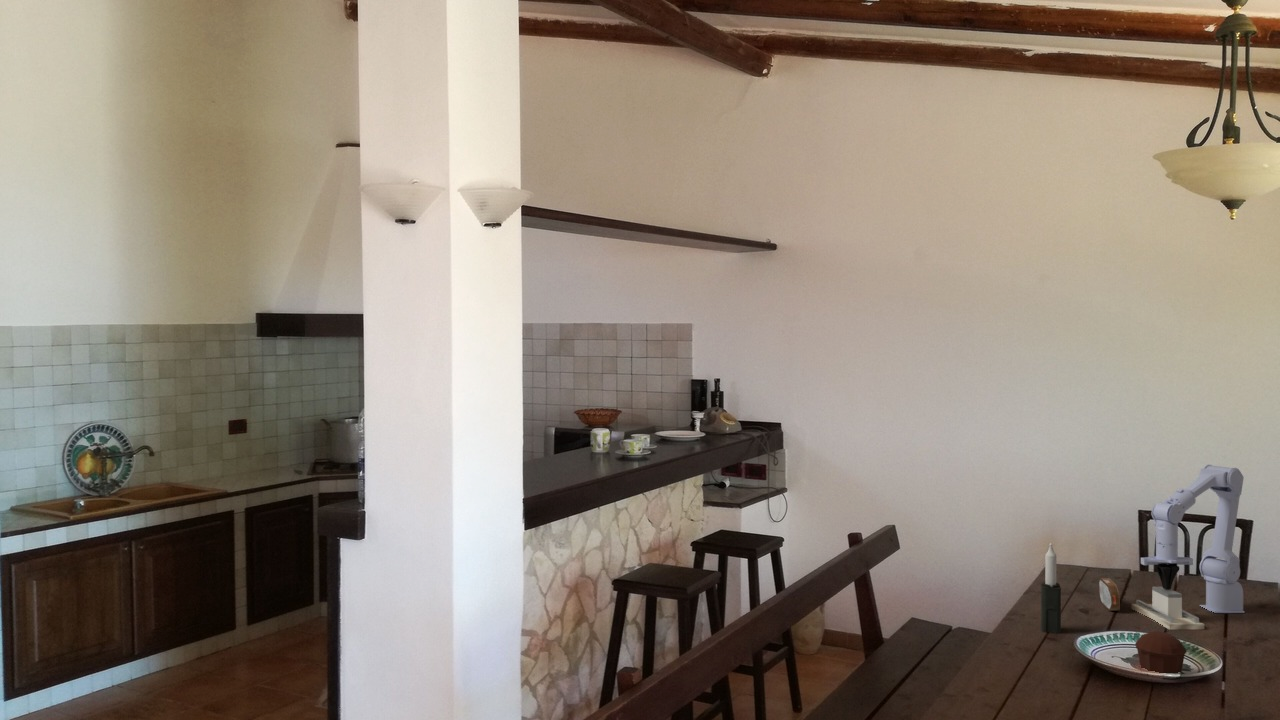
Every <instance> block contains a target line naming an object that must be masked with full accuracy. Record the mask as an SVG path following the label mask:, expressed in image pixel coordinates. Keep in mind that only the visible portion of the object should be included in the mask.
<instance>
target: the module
mask: <svg viewBox="0 0 1280 720" xmlns="http://www.w3.org/2000/svg"><path fill="white" fill-rule="evenodd" d="M1151 589H1152V590H1151V591H1152V593H1151V594H1152V595H1151V597H1152V599H1151V600H1152V602H1151V604H1152V607H1154V608H1156V609H1158V610H1160V611H1162V612H1164V613H1166V614H1168V615H1170V616H1171V617H1173V618H1182V610H1183V594H1182V593H1180V592H1179V591H1176V590H1174V589H1172V588H1171V590H1166V589H1163V587H1162V586H1152V588H1151Z"/></svg>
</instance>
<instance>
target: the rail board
mask: <svg viewBox="0 0 1280 720" xmlns="http://www.w3.org/2000/svg"><path fill="white" fill-rule="evenodd" d="M1131 610H1133V611H1134V610H1135V611H1134V612H1136V611H1137V612H1136V613H1138V612H1139V614H1140V613H1141V614H1140V615H1142V614H1143V615H1142V616H1144V615H1145V616H1147V617H1149V618H1151V619H1153V620H1155V621H1156V622H1158V623H1159V624H1158V623H1157V624H1158V625H1160V624H1161V625H1160V626H1162V625H1163V626H1162V627H1164V628H1165V629H1167V630H1172V631H1173V630H1175V631H1176V630H1179V631H1180V630H1182V631H1183V630H1184V631H1185V630H1205V623H1203V622H1201V621H1200V618H1199V617H1198V616H1196V615H1194V614H1192V613H1189V611H1186V610H1184V609H1182V618H1173V617H1171V616H1170V615H1168V614H1166V613H1164V612H1162V611H1160V610H1158V609H1156V608H1154V607H1152V603H1147V602H1144V601H1142V599H1141V600H1140V599H1136V601H1135V603H1131ZM1145 616H1144V617H1145ZM1147 617H1146V618H1147ZM1149 618H1148V619H1149ZM1151 619H1150V620H1151ZM1153 620H1152V621H1153ZM1155 621H1154V622H1155ZM1156 622H1155V623H1156Z"/></svg>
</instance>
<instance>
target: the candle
mask: <svg viewBox="0 0 1280 720" xmlns="http://www.w3.org/2000/svg"><path fill="white" fill-rule="evenodd" d="M1044 558H1045V559H1044V561H1045V566H1044V570H1045V572H1044V573H1045V575H1044V577H1045V579H1044V580H1045V581H1042V583H1041V584H1040V629H1041V632H1043V633H1051V634H1061V632H1062V627H1061V626H1062V623H1061V621H1062V618H1061V617H1062V611H1061V610H1062V609H1061V607H1062V590H1061V589H1062V587H1061V585H1060V583H1058V582H1057V554H1056V552H1055V551H1054V548H1053V543H1051V542H1050V543H1049V547H1048V551H1047V552H1046V553H1045V557H1044Z"/></svg>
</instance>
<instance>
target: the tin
mask: <svg viewBox="0 0 1280 720" xmlns="http://www.w3.org/2000/svg"><path fill="white" fill-rule="evenodd" d="M1098 586H1099V587H1098V588H1099V598H1100V602H1101V603H1102V605H1103V606H1104V607H1105V608H1106V609H1107V610H1108V611H1110V612H1120V609H1121V597H1120V591H1119V589H1118V586H1117V584H1116V583H1115V582H1114V581H1113V580H1112V579H1111V578H1110V577H1103V578H1102V577H1101V578H1100V579H1099V581H1098Z"/></svg>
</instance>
